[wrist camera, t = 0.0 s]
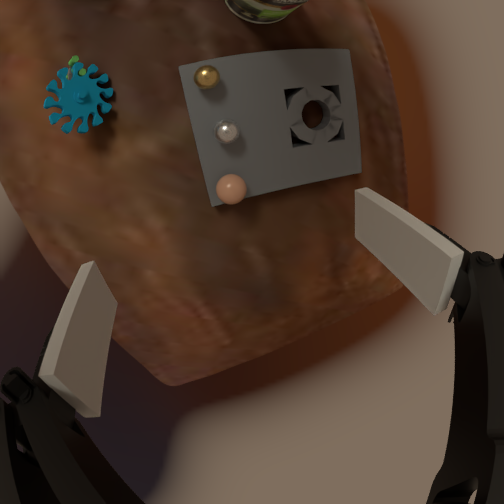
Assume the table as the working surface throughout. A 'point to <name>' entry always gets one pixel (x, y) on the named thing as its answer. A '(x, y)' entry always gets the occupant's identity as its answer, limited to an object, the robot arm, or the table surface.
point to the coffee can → (263, 9)
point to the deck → (276, 118)
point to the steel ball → (226, 131)
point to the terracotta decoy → (231, 189)
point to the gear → (78, 96)
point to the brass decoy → (206, 77)
